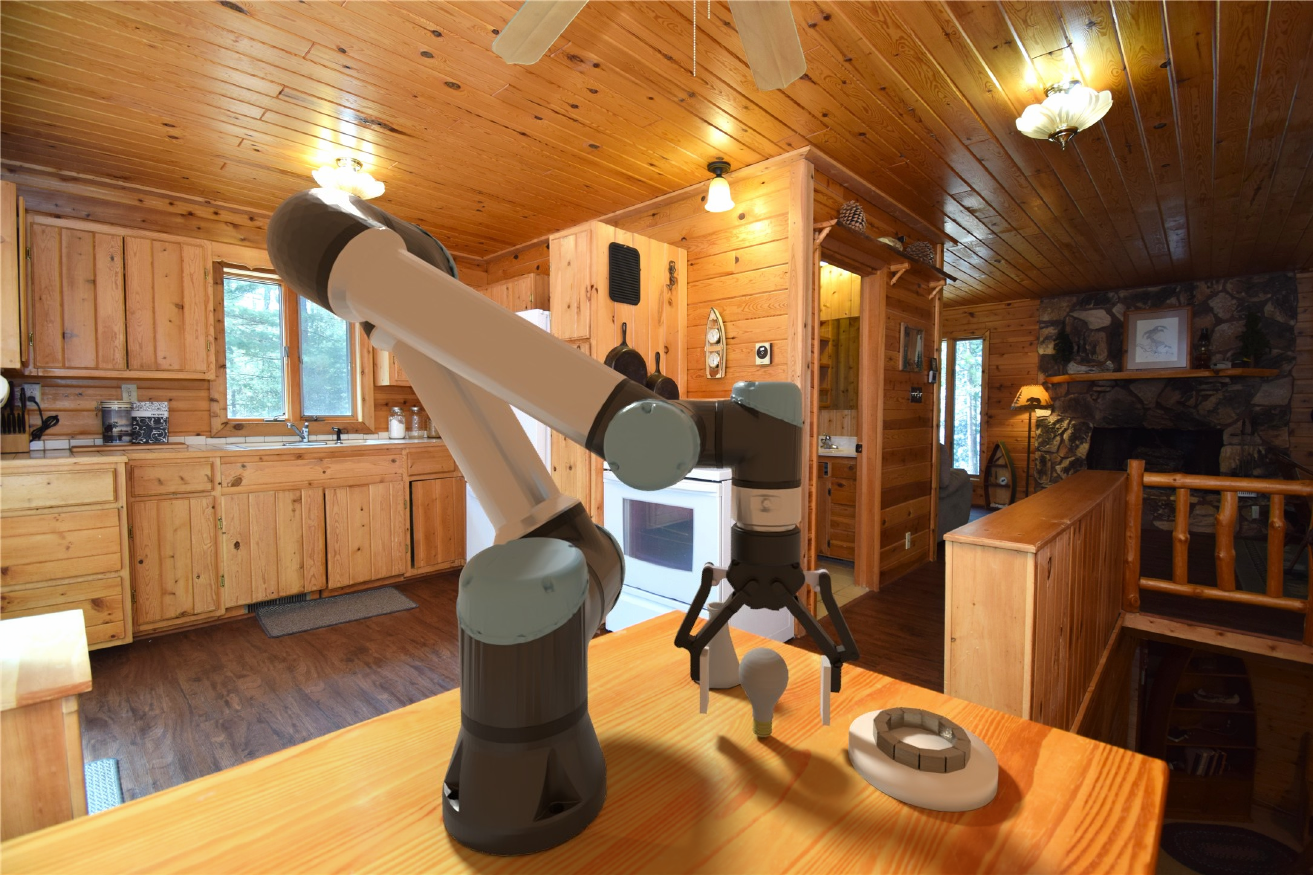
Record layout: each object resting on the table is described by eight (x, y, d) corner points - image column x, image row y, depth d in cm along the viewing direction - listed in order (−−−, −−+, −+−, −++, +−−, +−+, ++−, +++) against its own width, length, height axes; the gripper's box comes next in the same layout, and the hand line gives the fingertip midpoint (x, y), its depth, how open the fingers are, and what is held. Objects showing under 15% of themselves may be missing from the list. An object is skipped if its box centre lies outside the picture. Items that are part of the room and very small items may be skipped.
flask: (683, 669, 82) (683, 599, 81) (730, 662, 84) (731, 593, 83) (702, 694, 75) (703, 618, 74) (754, 686, 77) (755, 611, 76)
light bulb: (787, 753, 62) (789, 662, 62) (736, 747, 63) (737, 657, 63) (786, 725, 68) (788, 641, 67) (739, 720, 69) (740, 637, 68)
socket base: (859, 800, 55) (860, 780, 55) (840, 720, 69) (840, 703, 69) (1022, 820, 52) (1023, 799, 52) (969, 732, 66) (969, 715, 66)
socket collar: (883, 766, 57) (883, 751, 57) (867, 717, 66) (867, 703, 65) (982, 777, 55) (983, 761, 55) (952, 725, 64) (953, 711, 64)
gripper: (648, 526, 62) (648, 720, 64) (892, 536, 58) (887, 743, 59) (660, 512, 70) (660, 686, 71) (878, 520, 65) (873, 705, 67)
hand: (763, 713), depth 65 cm, fingers open, 12 cm apart
